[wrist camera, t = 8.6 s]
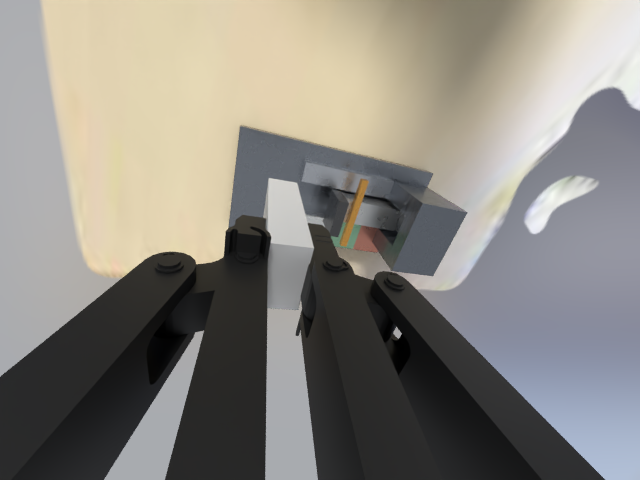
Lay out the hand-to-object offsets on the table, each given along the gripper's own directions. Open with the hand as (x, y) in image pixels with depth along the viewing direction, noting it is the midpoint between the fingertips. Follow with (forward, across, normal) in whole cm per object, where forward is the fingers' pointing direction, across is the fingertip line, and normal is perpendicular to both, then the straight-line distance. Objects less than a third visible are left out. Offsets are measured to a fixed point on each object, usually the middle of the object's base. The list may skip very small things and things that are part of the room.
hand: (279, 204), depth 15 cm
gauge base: (+21, +9, -6) cm, 24 cm away
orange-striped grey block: (+20, +14, -7) cm, 25 cm away
